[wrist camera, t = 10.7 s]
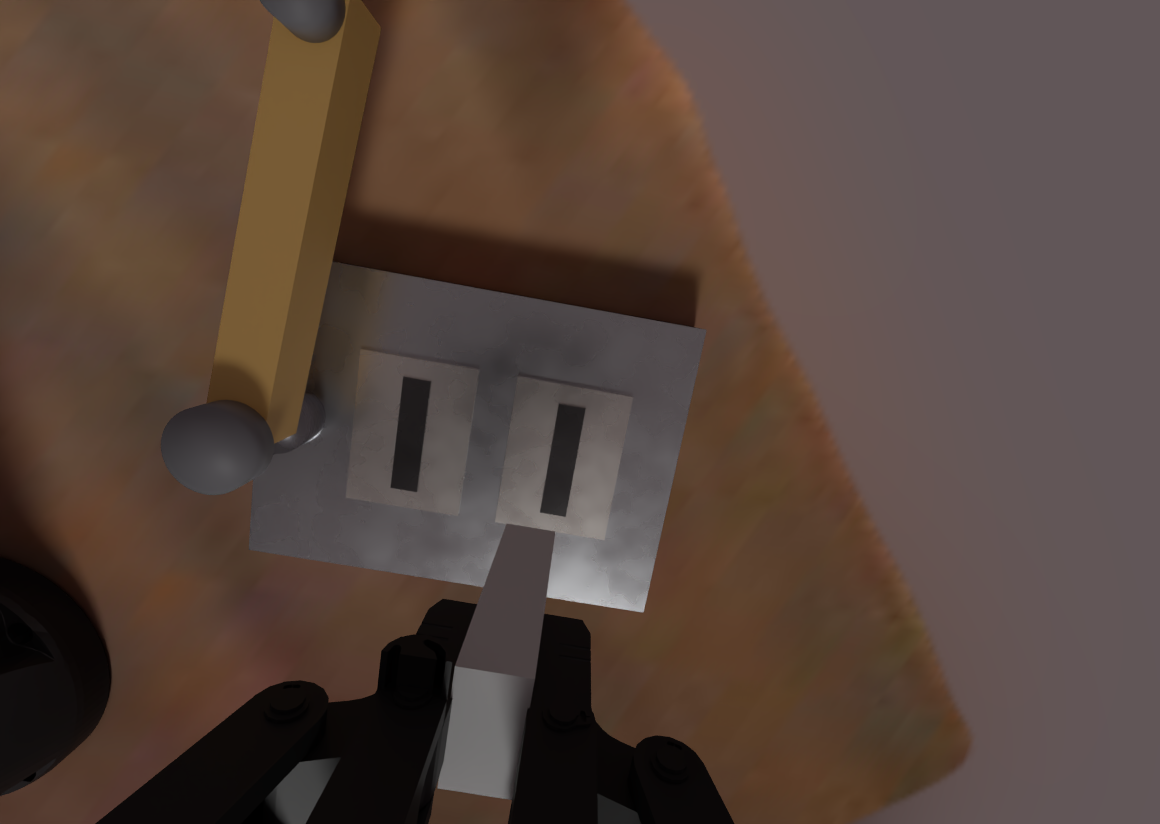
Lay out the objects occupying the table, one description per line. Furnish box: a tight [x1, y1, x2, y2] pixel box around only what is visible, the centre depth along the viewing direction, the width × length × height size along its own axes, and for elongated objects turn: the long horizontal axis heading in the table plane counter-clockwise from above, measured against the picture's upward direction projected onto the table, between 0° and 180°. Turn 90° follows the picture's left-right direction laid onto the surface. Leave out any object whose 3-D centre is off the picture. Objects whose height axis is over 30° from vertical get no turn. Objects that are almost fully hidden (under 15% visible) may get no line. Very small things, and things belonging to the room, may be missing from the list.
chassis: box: [249, 261, 706, 612], centre depth 29 cm, size 22×16×5 cm
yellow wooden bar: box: [161, 0, 381, 495], centre depth 22 cm, size 20×4×5 cm, turn 163°
